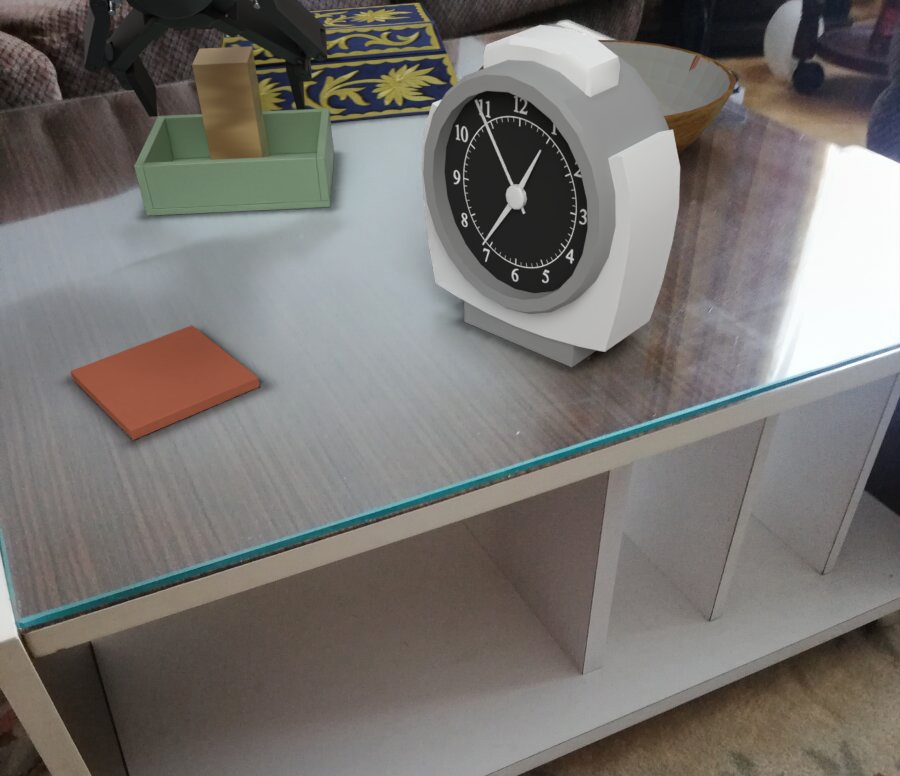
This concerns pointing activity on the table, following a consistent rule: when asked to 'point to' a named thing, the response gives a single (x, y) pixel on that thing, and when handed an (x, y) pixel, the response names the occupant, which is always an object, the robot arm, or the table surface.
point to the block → (230, 102)
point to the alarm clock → (551, 194)
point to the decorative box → (363, 65)
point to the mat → (164, 381)
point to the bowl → (679, 85)
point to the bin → (237, 167)
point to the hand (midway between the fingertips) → (226, 98)
